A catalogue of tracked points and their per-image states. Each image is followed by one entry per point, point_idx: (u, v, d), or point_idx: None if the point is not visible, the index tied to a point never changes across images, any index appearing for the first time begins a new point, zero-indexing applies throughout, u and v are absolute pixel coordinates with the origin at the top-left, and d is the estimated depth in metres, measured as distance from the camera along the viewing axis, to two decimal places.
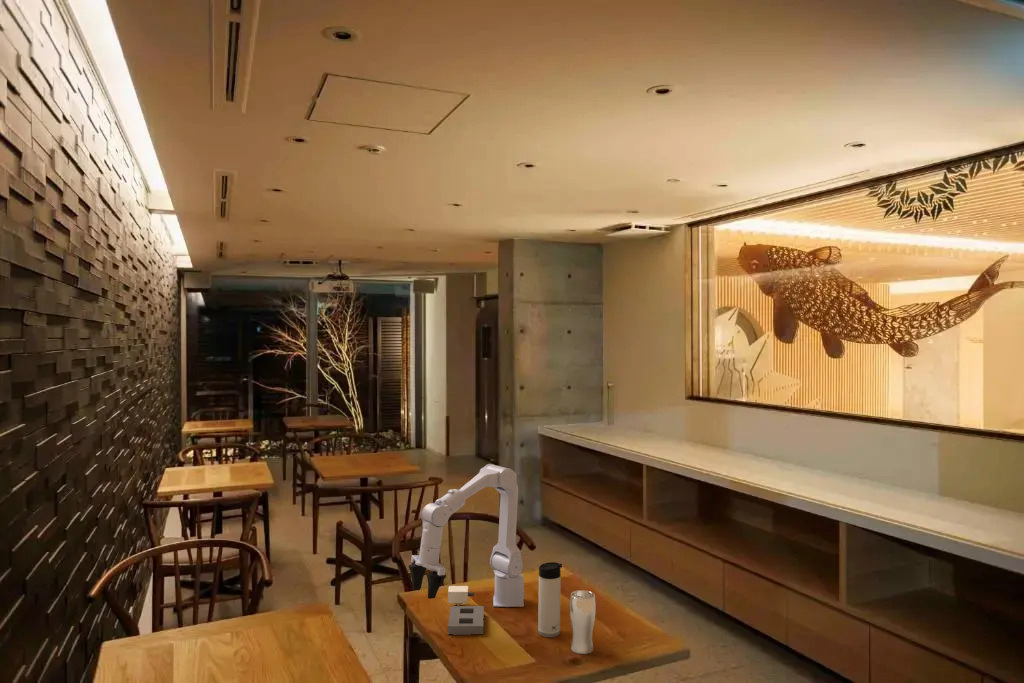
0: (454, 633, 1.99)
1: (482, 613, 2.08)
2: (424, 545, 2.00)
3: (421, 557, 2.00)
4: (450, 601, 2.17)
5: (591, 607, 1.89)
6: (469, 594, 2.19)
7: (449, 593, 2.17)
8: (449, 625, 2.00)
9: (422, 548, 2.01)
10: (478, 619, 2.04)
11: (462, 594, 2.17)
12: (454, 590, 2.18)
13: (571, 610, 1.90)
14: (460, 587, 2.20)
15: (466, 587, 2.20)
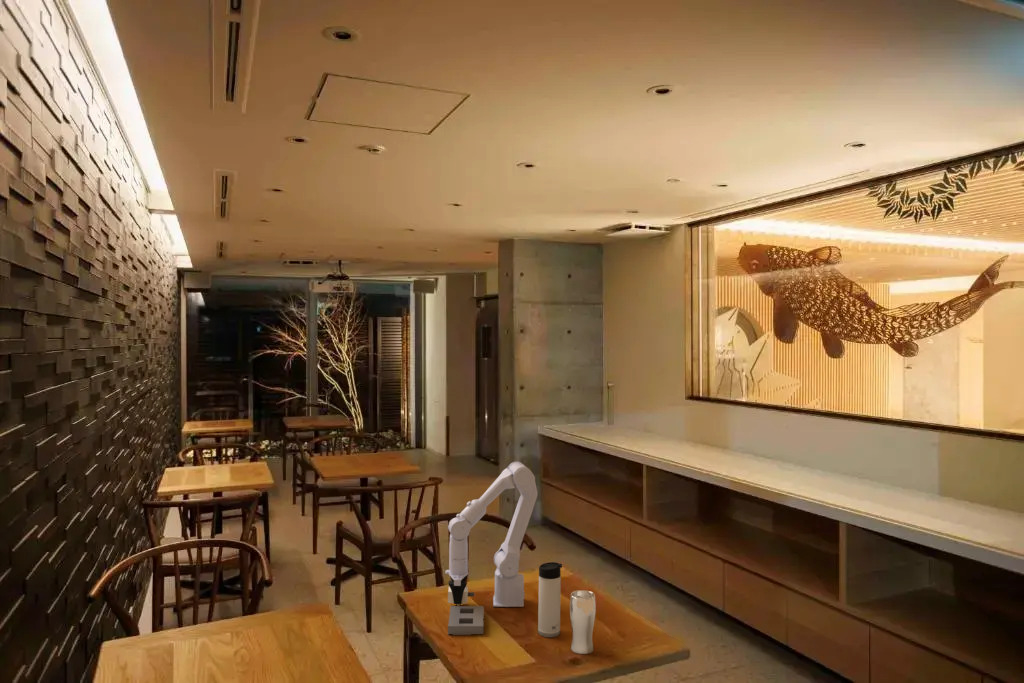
0: (454, 633, 1.99)
1: (482, 613, 2.08)
2: (450, 556, 2.17)
3: (449, 567, 2.18)
4: (450, 601, 2.17)
5: (591, 607, 1.89)
6: (469, 594, 2.19)
7: (449, 593, 2.17)
8: (449, 625, 2.00)
9: (449, 558, 2.19)
10: (478, 619, 2.04)
11: None
12: None
13: (571, 610, 1.90)
14: None
15: (466, 587, 2.20)
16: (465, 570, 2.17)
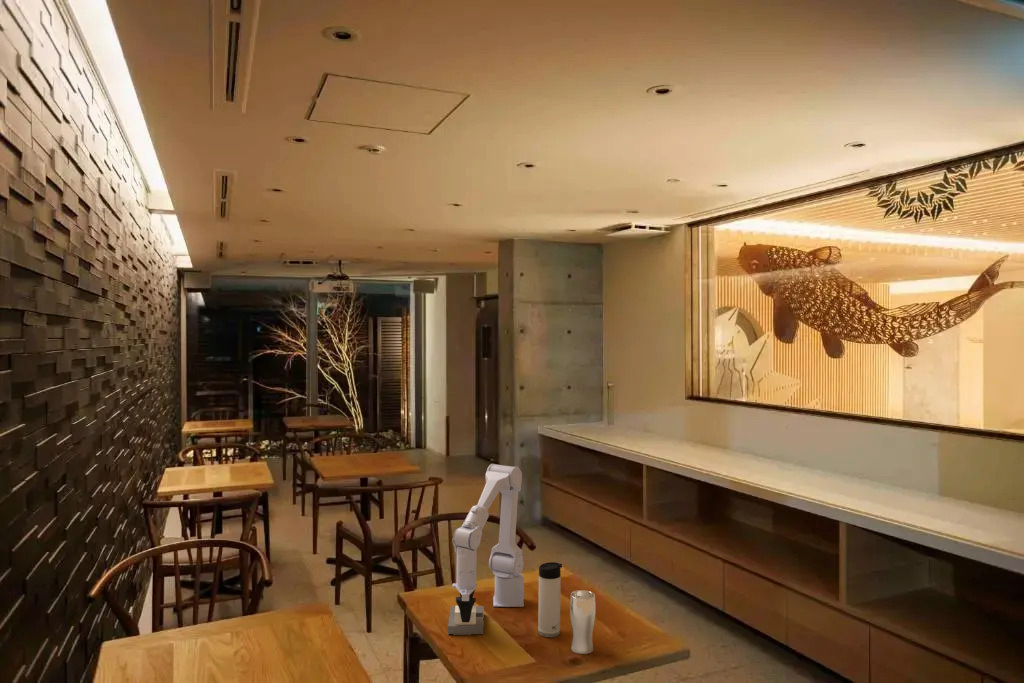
0: (454, 633, 1.99)
1: None
2: (463, 571, 2.00)
3: (456, 580, 2.02)
4: (457, 622, 2.00)
5: (591, 607, 1.89)
6: (477, 615, 2.02)
7: (456, 614, 2.00)
8: (449, 625, 2.00)
9: None
10: (478, 619, 2.04)
11: None
12: None
13: (571, 610, 1.90)
14: None
15: (474, 607, 2.04)
16: (474, 584, 2.01)
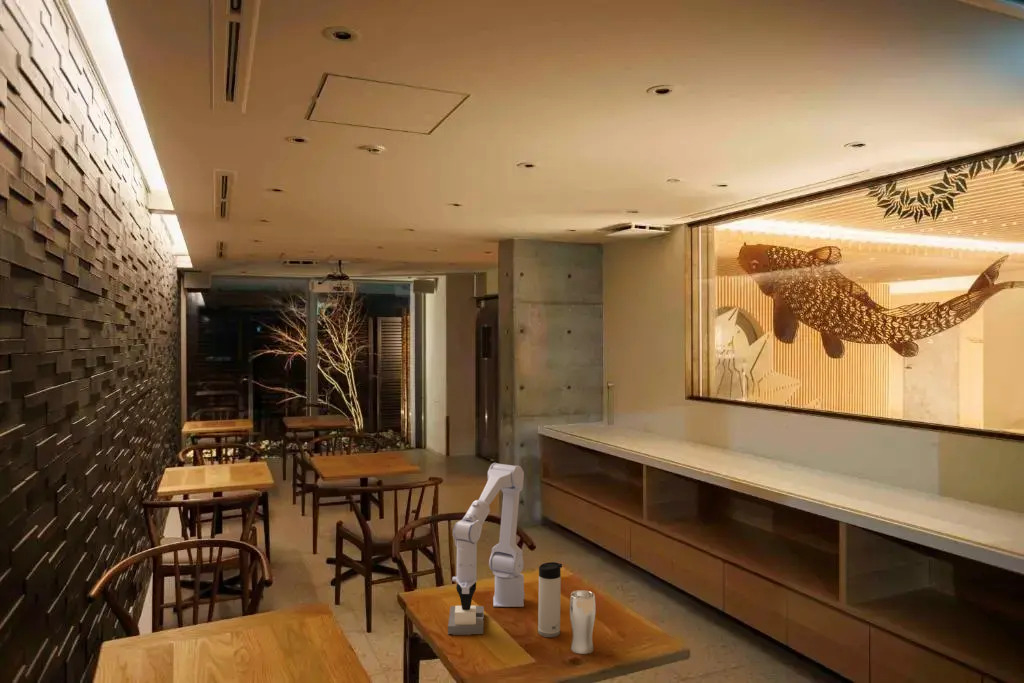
0: (454, 633, 1.99)
1: None
2: (463, 564, 2.00)
3: None
4: (457, 622, 2.00)
5: (591, 607, 1.89)
6: (477, 615, 2.02)
7: (456, 614, 2.00)
8: (449, 625, 2.00)
9: None
10: (478, 619, 2.04)
11: (469, 615, 2.00)
12: (461, 610, 2.02)
13: (571, 610, 1.90)
14: None
15: (474, 607, 2.04)
16: (474, 577, 2.01)
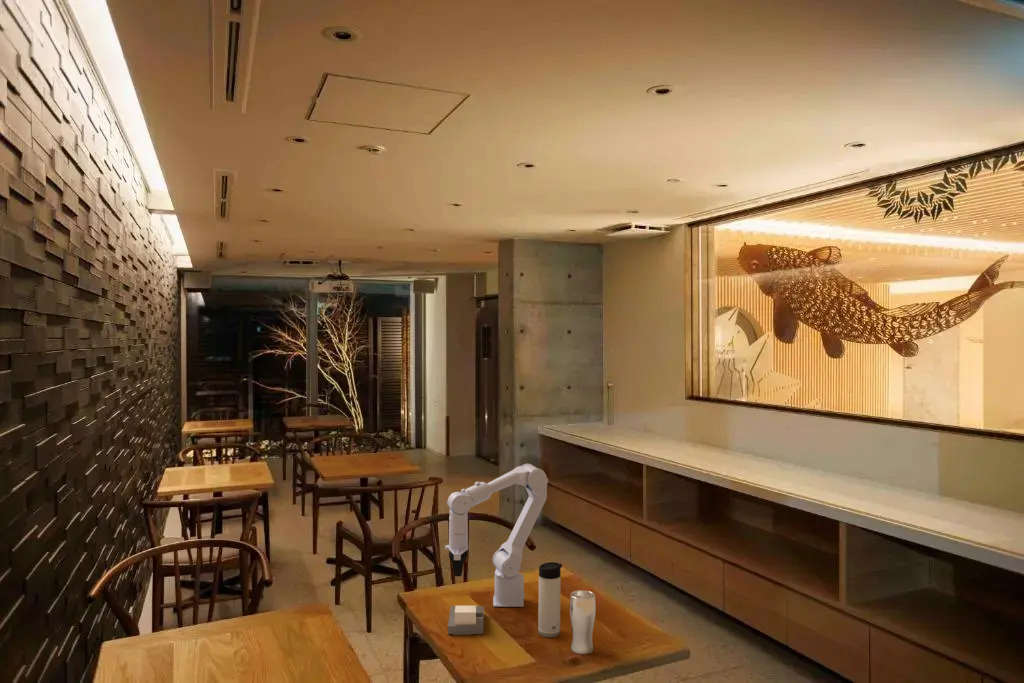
0: (454, 633, 1.99)
1: None
2: (450, 531, 2.15)
3: (449, 542, 2.16)
4: (457, 622, 2.00)
5: (591, 607, 1.89)
6: (477, 615, 2.02)
7: (456, 614, 2.00)
8: (449, 625, 2.00)
9: (449, 533, 2.16)
10: (478, 619, 2.04)
11: (469, 615, 2.00)
12: (461, 610, 2.02)
13: (571, 610, 1.90)
14: (467, 607, 2.04)
15: (474, 607, 2.04)
16: (465, 545, 2.15)
